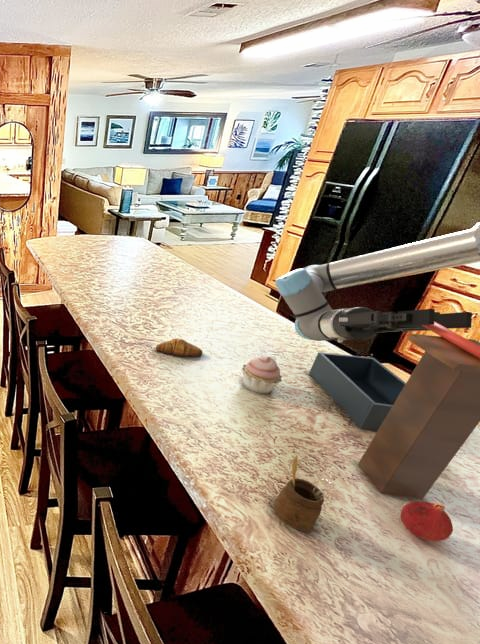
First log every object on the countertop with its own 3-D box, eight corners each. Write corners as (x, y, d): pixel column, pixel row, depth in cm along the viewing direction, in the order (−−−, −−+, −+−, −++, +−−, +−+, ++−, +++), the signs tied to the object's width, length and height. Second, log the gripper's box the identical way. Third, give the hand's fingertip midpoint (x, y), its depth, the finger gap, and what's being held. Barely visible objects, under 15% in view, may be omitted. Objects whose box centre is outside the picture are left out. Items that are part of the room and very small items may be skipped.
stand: (341, 455, 83) (409, 333, 69) (394, 462, 81) (474, 339, 68) (372, 495, 74) (458, 363, 60) (433, 504, 72) (534, 371, 59)
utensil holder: (304, 539, 65) (333, 490, 60) (264, 512, 70) (287, 464, 65) (317, 521, 69) (345, 473, 63) (278, 495, 73) (301, 449, 68)
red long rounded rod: (403, 316, 76) (407, 309, 75) (412, 317, 76) (416, 309, 75) (489, 367, 60) (496, 358, 59) (502, 368, 60) (508, 359, 59)
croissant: (197, 350, 120) (201, 336, 118) (204, 362, 114) (208, 347, 112) (152, 345, 122) (156, 331, 120) (157, 357, 116) (160, 342, 114)
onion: (403, 544, 65) (427, 513, 61) (385, 515, 70) (406, 484, 66) (447, 556, 63) (474, 524, 60) (425, 525, 68) (449, 494, 65)
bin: (308, 374, 110) (318, 352, 106) (361, 380, 108) (373, 357, 104) (359, 429, 90) (374, 404, 86) (426, 438, 88) (444, 412, 84)
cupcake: (230, 385, 104) (241, 354, 100) (244, 373, 110) (255, 343, 105) (269, 403, 98) (282, 370, 93) (281, 389, 103) (295, 357, 99)
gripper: (392, 344, 89) (510, 345, 66) (307, 336, 92) (391, 334, 69) (394, 312, 89) (511, 301, 66) (308, 304, 92) (393, 292, 69)
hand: (450, 318), depth 67 cm, fingers open, 5 cm apart
